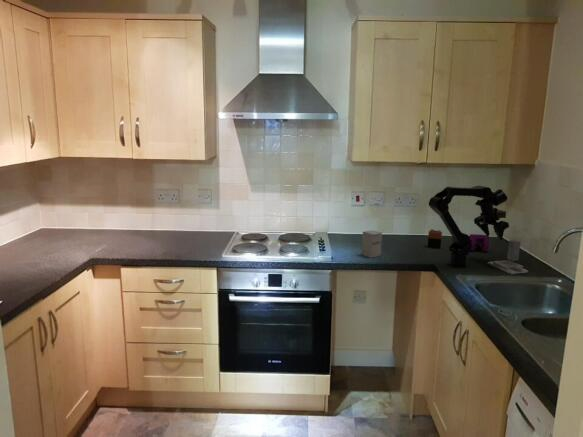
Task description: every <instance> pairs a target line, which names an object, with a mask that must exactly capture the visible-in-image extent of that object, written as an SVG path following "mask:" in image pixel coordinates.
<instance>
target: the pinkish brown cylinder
mask: <svg viewBox="0 0 583 437" xmlns="http://www.w3.org/2000/svg"><path fill="white" fill-rule="evenodd" d="M361 237H362V238H361V239H362V240H361V241H362V242H361V255H362V256H364V257H367V258H369V259H371V258H376V257H380V256H381V255H382V242H383V233H382V232H381V231H377V230H374V229H371V230H365V231H362V236H361Z"/></svg>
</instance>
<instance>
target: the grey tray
mask: <svg viewBox="0 0 583 437" xmlns="http://www.w3.org/2000/svg"><path fill="white" fill-rule="evenodd" d="M487 264H488V265H489V266H492V267H494V268H497V269H499V270H501V271H504V272H506V273H507V274H510V273H511V274H510V275H516V274H526V273H529V270H527V269H525V268H524V265H521V264H519V263H517V262H515V261H511V260H508V259H506V260H493V261H488V262H487Z"/></svg>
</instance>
